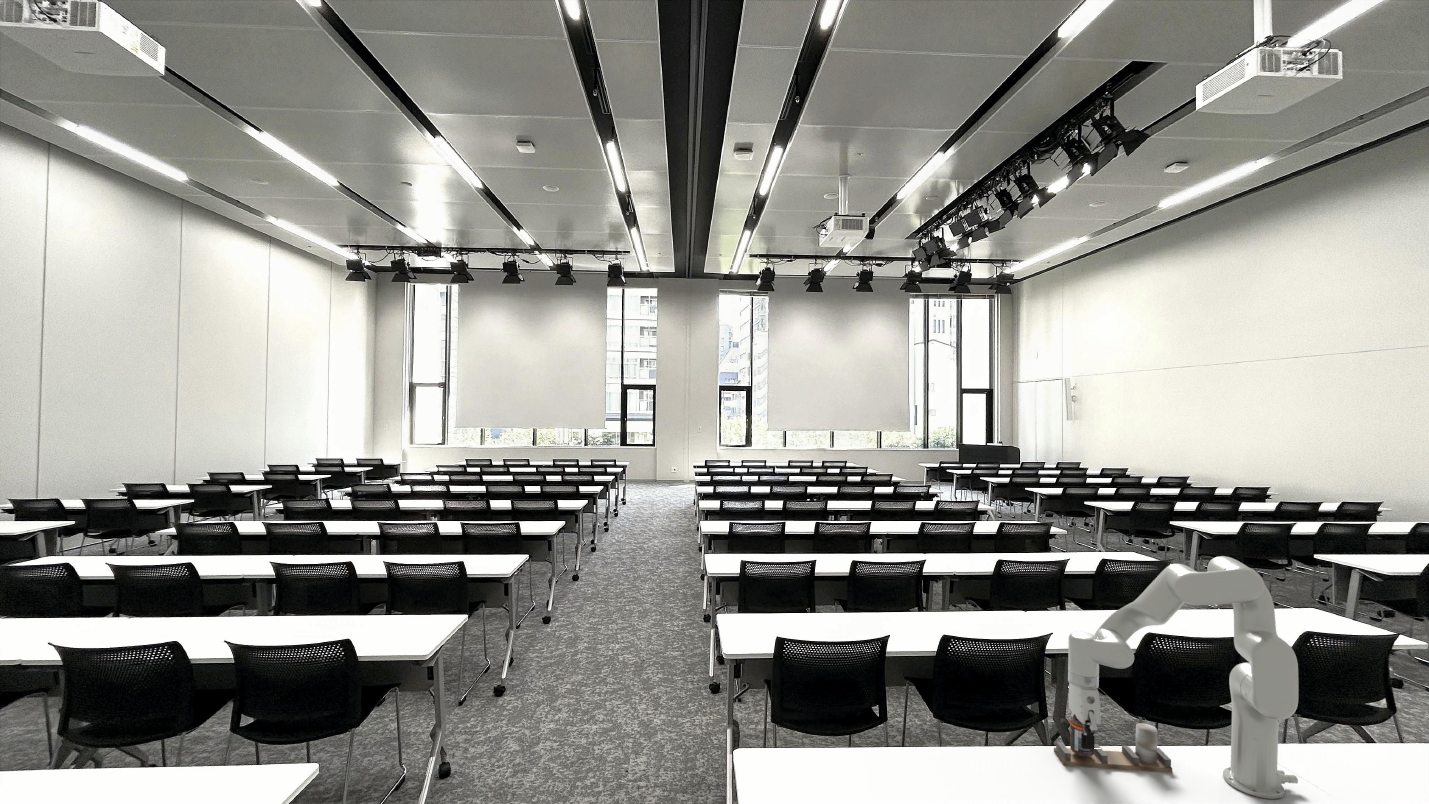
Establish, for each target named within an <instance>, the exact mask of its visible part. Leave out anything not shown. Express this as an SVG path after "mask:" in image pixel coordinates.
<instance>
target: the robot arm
mask: <svg viewBox="0 0 1429 804" xmlns="http://www.w3.org/2000/svg"><path fill="white" fill-rule="evenodd" d="M1206 570H1207V571H1196V570H1195V569H1193V568H1192V567H1190V566H1188V565H1186V564H1182V563H1172V564H1169V565H1167V566H1166V567H1165V568H1164V569H1163V570H1162V571H1161V572H1160V573H1159V574H1158V575H1157V577H1155V579H1153V580H1152V582H1151V583H1150V584H1149V585H1148V586H1147V587H1146V588H1145V589H1144V591H1143V592H1141V594H1139V596H1138V597H1137V598H1135V600H1133V601H1132V602H1130V603H1128V604H1126V605H1124V606H1123V607H1121V608H1120V609H1118V610H1116V611H1114V612H1113V613H1111V615H1109V616H1108V617H1107V619H1106V620H1105V621H1104V622H1103V623H1102V624H1100V626H1099V627H1098V629H1097V630H1096V631H1095V633H1094V634H1092V633H1089V632H1086V631H1073V632H1071V633H1070V634H1069V635H1068V642H1067V643H1068V647H1067V648H1068V654H1067V655H1068V659H1067V663H1068V664H1067V666H1068V667H1067V671H1068V672H1067V682H1068V683H1069V684H1068V695H1067V697H1068V699H1067V700H1068V701H1067V702H1068V708H1069V709H1068V710H1069V711H1070V719H1071V718H1072V717H1073V716H1074V714H1075V716H1076V718H1077V719H1078V720H1079V721H1080V722H1081V723H1082V729H1083V733H1081V747H1082V748H1084V749H1094V744H1095V736H1096V732H1097V731H1098V729H1099V728H1098V726H1100V725H1101V703H1100V695H1099V690H1098V689H1099V686H1100V684H1099V682H1100V680H1099V679H1100V675H1099V674H1100V665H1102V666H1105V667H1110V668H1114V669H1127V668H1129V667H1130V666H1132V665H1133V663H1134V661H1135V655H1134V651H1133V649H1132V648H1131V646H1130V645H1129V644H1128V643H1127V641H1128V640H1129V639H1130V638H1131V636H1133V635H1134V634H1136V632H1138V631H1139V630H1141V629H1143V628H1145V627H1149V626H1151V627H1152V626H1163V625H1165V624H1166V623H1168V622H1169V621H1170V619H1171V618H1173V616H1174V615H1175V614H1176V613H1177V612H1178V611H1179V610H1180V609H1181V608H1182V607H1183V606H1184V605H1185V604H1187V605H1191V606H1217V605H1227V604H1228V605H1229V604H1231V605H1232V609H1233V610H1232V611H1233V645H1234V648H1235V650H1236V651H1237V653H1238V654H1240V656H1241V657H1242V658H1244V659H1245V660H1246V661H1247V662H1242V663H1241V662H1240V663H1239V664H1236V665H1235V666H1234V667H1233V668H1232V669H1231V671H1230V673H1229V680H1228V681H1229V683H1228V684H1229V690H1230V691H1229V692H1230V698H1231V732H1230V733H1231V737H1230V738H1231V739H1230V741H1231V742H1230V767H1226V768H1224V769H1223V771H1222V778H1223V779H1224V780H1225V781H1226V783H1227V784H1229V785H1231V786H1232V787H1233V788H1235V789H1236V790H1238V791H1240V792H1242V793H1245V794H1248V795H1250V796H1254V797H1256V798H1257V797H1258V798H1262V799H1267V800H1268V799H1270V800H1273V799H1274V800H1276V799H1281V798H1283V797H1284V796H1285V787H1284V786H1283V785H1285V783H1288V784H1298V782H1299V780H1298V777H1297V775H1294V774H1285V771H1284V770H1282V769H1281V770H1280V769H1278V755H1279V753H1278V752H1279V750H1278V749H1279V747H1278V746H1279V721H1283V720H1287V719H1289V718H1290V717H1292V716H1293V715H1294V713H1296V710H1297V709H1298V706H1299V705H1298V704H1299V663H1298V659H1297V656H1296V653H1295V651H1294V649H1293V647H1291V645H1290V644H1288V643H1287V642H1286V641H1285V640H1283V639H1282V638H1281V637H1280V636H1279V635H1278V633H1277V626H1276V625H1277V624H1276V613H1275V612H1276V611H1275V604H1274V600H1273V598H1272V595H1271V593H1270V591H1269V589H1268V587H1267V585H1266V584H1265V581H1264V580H1263V579H1264V578H1263V577H1262V576H1261V575H1260V574H1259V573H1258V572H1257V571H1255V570H1254V569H1252V568H1250V567H1249V566H1247V565H1246V564H1244V563H1243V562H1240V560H1237V559H1235V558H1233V557H1230V556H1225V555H1221V556H1216V557H1213V558H1212V559H1210V561H1209V562H1208V564H1207V569H1206ZM1085 720H1089V722H1085ZM1086 725H1090V728H1087V729H1086Z"/></svg>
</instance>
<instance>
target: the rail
mask: <svg viewBox="0 0 1429 804" xmlns="http://www.w3.org/2000/svg"><path fill="white" fill-rule="evenodd" d="M1055 744H1056V745H1055V747H1053V752H1054V753H1055V755H1056V756H1057V758H1058V759H1059V762H1061V764H1062V765H1063V766H1066V767H1068V766H1069V767H1082V768H1098V769H1114V770H1125V771H1126V770H1129V771H1145V772H1160V773H1173V767H1172V759H1171V758H1170V757H1169V756H1168V755H1167V754H1166V753H1165V752H1164V751H1163V750H1162V749H1161V748H1160V747H1158V729H1157V728H1156V727H1155V726H1154V725H1151V724H1149V723H1143V722H1140V723H1139V722H1137V723H1136V725H1135V750H1134V751H1133V749H1131V748H1130V746H1129V745H1121V751H1118V750H1116V751H1115V750H1114V751H1113V750H1103V748H1102V747H1101V746H1100V745H1099V744H1098V743H1094V748H1101V749H1094V754H1093V755H1092V756H1089V757H1085V756H1080V755H1078V754H1076V753H1074V752H1073V751H1072V750H1071V748H1067V746H1066V745H1065V743H1064V742H1063V741H1056V742H1055Z"/></svg>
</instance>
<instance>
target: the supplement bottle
mask: <svg viewBox="0 0 1429 804" xmlns="http://www.w3.org/2000/svg"><path fill="white" fill-rule="evenodd" d="M1069 721H1070V724H1069V725H1070V729H1069V730H1070V733H1069V735H1070V737H1069V739H1070V740H1069V747H1070V748H1071V750H1072V751H1073V752H1074V753H1076V754H1078V755H1080V756H1085V757H1089V756H1092V755H1093V754H1094V749H1084V748H1082V747H1081V733H1083V729H1082V723H1081V722H1080V721H1079V720H1078V719H1077V718H1076V716H1075V714H1074V716H1073V717H1072V718H1071V717H1070V720H1069ZM1085 722H1089V720H1085ZM1087 728H1090V725H1086V729H1087Z"/></svg>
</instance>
